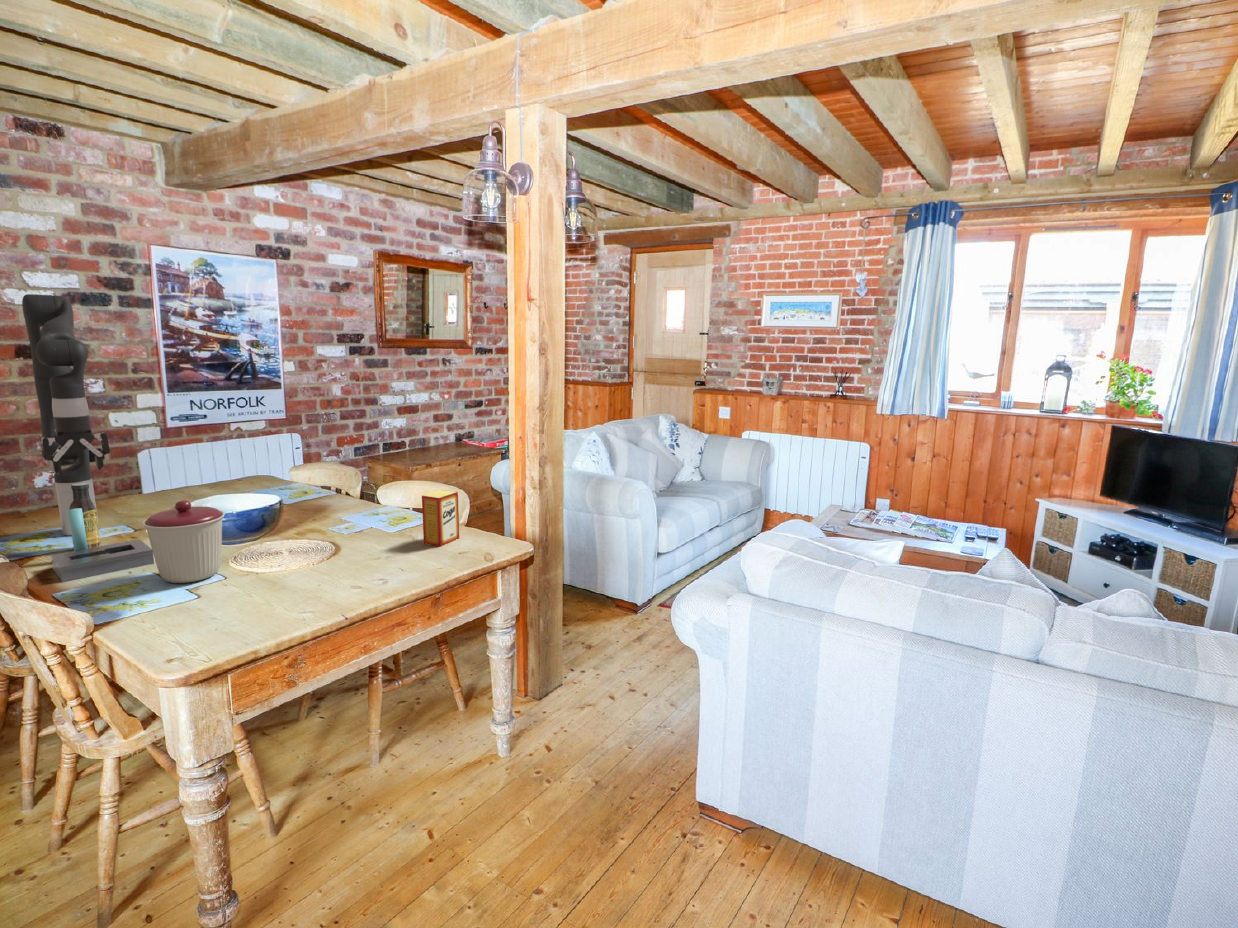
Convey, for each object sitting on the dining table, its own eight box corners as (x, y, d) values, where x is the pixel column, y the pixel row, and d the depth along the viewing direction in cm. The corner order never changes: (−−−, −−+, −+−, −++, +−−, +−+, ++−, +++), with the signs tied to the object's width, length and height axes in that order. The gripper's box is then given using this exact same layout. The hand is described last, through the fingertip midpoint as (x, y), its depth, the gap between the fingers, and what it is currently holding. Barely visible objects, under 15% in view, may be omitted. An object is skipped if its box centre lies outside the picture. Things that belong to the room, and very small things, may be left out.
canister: (173, 594, 161) (163, 513, 157) (136, 580, 170) (125, 503, 166) (244, 572, 177) (237, 498, 172) (207, 560, 185) (199, 489, 181)
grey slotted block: (53, 568, 177) (50, 555, 176) (141, 551, 192) (139, 539, 191) (62, 582, 168) (60, 567, 167) (154, 563, 182) (152, 549, 182)
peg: (70, 559, 184) (63, 509, 182) (91, 555, 188) (83, 506, 185) (73, 563, 181) (66, 512, 179) (94, 559, 185) (87, 509, 182)
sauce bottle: (85, 552, 190) (75, 487, 186) (68, 550, 191) (58, 485, 188) (106, 545, 196) (97, 482, 193) (90, 544, 198) (80, 481, 194)
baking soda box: (443, 535, 212) (441, 488, 209) (459, 538, 210) (457, 490, 206) (423, 543, 204) (421, 494, 200) (440, 546, 201) (438, 497, 198)
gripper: (100, 410, 183) (108, 466, 187) (34, 414, 173) (43, 473, 176) (107, 413, 178) (114, 470, 182) (39, 417, 168) (48, 478, 171)
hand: (79, 471), depth 179 cm, fingers open, 8 cm apart
